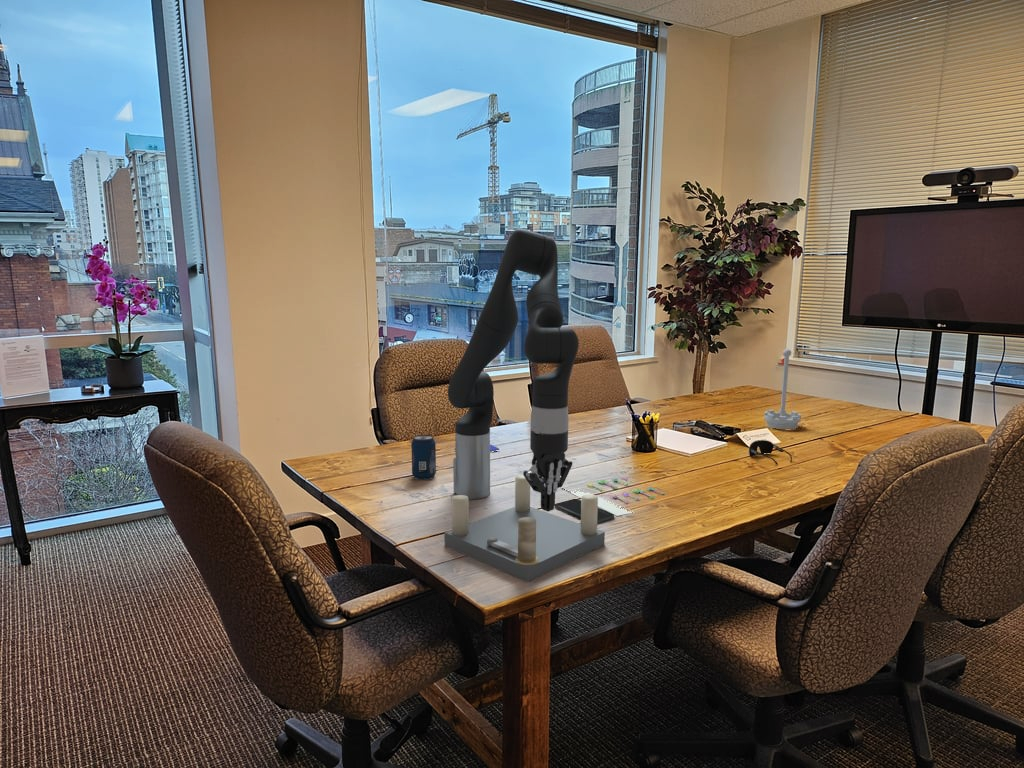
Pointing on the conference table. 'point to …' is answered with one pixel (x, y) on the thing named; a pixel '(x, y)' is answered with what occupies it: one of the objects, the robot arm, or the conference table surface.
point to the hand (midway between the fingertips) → (547, 509)
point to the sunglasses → (764, 448)
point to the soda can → (423, 457)
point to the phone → (574, 510)
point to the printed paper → (608, 506)
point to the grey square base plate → (553, 534)
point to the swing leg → (520, 541)
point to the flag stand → (783, 404)
